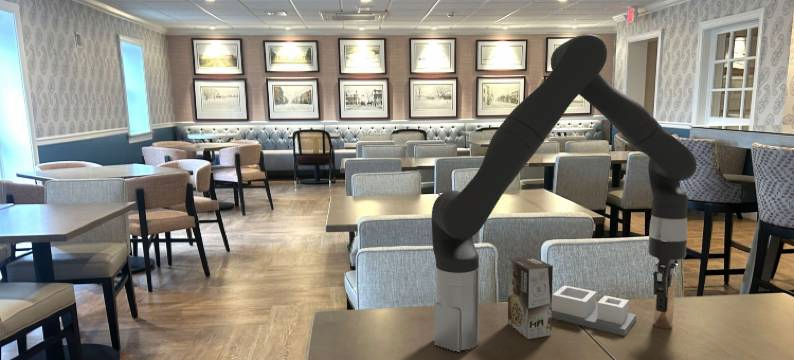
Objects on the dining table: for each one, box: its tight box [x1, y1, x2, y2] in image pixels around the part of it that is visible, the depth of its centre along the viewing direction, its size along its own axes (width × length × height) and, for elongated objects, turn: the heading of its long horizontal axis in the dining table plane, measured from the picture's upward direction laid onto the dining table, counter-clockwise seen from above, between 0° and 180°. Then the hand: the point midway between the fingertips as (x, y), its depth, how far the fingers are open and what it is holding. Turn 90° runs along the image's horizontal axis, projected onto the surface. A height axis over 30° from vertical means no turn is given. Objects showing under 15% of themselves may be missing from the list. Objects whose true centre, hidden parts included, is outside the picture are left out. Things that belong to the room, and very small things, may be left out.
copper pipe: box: [652, 275, 677, 330], centre depth 116 cm, size 4×4×12 cm
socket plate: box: [552, 284, 637, 337], centre depth 120 cm, size 10×17×6 cm, turn 52°
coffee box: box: [507, 255, 554, 340], centre depth 115 cm, size 9×6×16 cm
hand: (663, 307), depth 116 cm, fingers open, 4 cm apart
